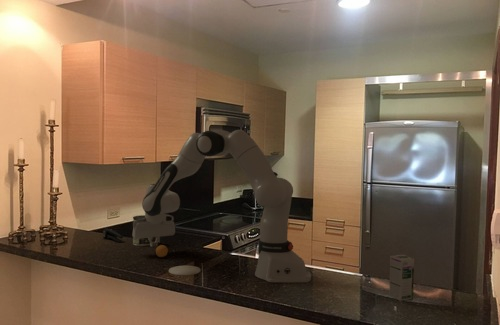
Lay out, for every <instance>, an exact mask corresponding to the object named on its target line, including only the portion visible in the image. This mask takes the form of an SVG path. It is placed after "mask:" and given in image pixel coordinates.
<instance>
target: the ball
mask: <svg viewBox="0 0 500 325" xmlns="http://www.w3.org/2000/svg"><path fill="white" fill-rule="evenodd" d="M168 252H169V250H168V247H167V245H164V244H160V245H157V246H156V248H155V254H156V256H157V257H159V258H164V257H166V256H167V255H168Z"/></svg>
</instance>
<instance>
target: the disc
mask: <svg viewBox="0 0 500 325" xmlns="http://www.w3.org/2000/svg"><path fill="white" fill-rule="evenodd" d="M200 272H201V268H200V267H198V266H195V265H178V266H172V267H170V268H169V269H168V273H169V274H172V275H175V276H194V275H196V274H199V273H200Z"/></svg>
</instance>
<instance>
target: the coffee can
mask: <svg viewBox="0 0 500 325" xmlns="http://www.w3.org/2000/svg"><path fill="white" fill-rule="evenodd" d="M132 218H133V220H132V221H134V220H136V219H141V218H145V214H144V215H143V214H142V215H134V216H133V217H132ZM152 242H154V238H153V239H152ZM132 245H134V246H137V247H144V246H145V247H146V246H150V241H149V240H148V238H141V239H135V238H134V237H133V236H132Z"/></svg>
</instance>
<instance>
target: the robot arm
mask: <svg viewBox="0 0 500 325" xmlns="http://www.w3.org/2000/svg"><path fill="white" fill-rule="evenodd" d="M225 155H231V156H232V157H233V159H234V161H235V162H236V164H237V165H238V166H239V168H240V169H241V171H242V172H243V173H244V175H245V177H246V178H247V180H248V182H249V184H250V186H251V188H252V191H253V193H254V198H255V201H256V203H257V204H258V205H259V206H262V207H263V211H262V215H261V218H260V221H259V224H260V225H259V226H260V227H259V239H258V243H257V244H258V246H257V249H258V250H257V252H258V258H257V259H258V260H257V265H256V269H255V272H254V276H255V277H257V278H259V279H260V280H264V281H266V282H268V283H308V282H310V281H311V280H312V274H311V272H310V271H308V270H307V268H306V263H305V260H304V259H303V258H302V257H300V256H299V255H298V254H297V253H296V252H294V251H293V249H294V245H293V243H292V241H289V240H288V232H289V231H288V228H289V218H290V213H291V212H290V211H291V205H292V198H293V196H294V195H293V194H294V187H293V185H292V183H291V182H290V181H288V180H287V179H286V178H283V177H277V176H276V175H275V173H274V171H273V168H272V166H271V163H270V160H269V159H268V157H267V156H266V155H265V153H264V152H263V150H262V149H261V147H260V146H259V145H258V144H257V143H256V141H255V140H254V139H253V138H252V137H251V136H250V135H249V133H247V132H246V131H245V130H242V129H235V130H233V131H230V130H227V129H224V130H222V129H211V130H206V131H203V132H193V133H192V134H190V135H189V136H188V138H187V139H186V140H185V142H184V144H183V145H182V146H181V149H180V151H179V153H178V154H177V156H176V157H175V158H174V160H172V162H171V163H170V164H169V165H168V166H167V167H166V168H165V169H164V171H163V172H162V173H161V175H160V176H159V178H158V179H157V181H156V182H155V183H153V184H152V183H151V184H148V186H147V188H146V192H145V196H144V197H143V199H142V204H141V206H142V210H143V211H144V215H145V218H141V219H136V220H134V221H133V220H132V221H133V222H132V234H131V235H132V238H133V237H134V238H135V239H141V238H148V240H149V241H150V245H149V246H150V247H151V248H153V247H158V243H159V241H160V240H161V237H169V236H174V235H175V234H176V225H175V221H174V216H173V215H170V214H169V213H174V212H176V211H178V210H179V209H180V207H181V198H180V196H179V194H178V193H177V192H174V191H171V190H170V188H171V187H172V185H173V184H174V183H175V182H177V181H179V180H181V179H184V178H187V177H190V176H193V175H194V174H196V173H197V172H198V171H199V169H200V168H201V167H202V164H203V163H204V160H206V157H209V158H210V157H211V158H212V157H221V156H225ZM154 238H155V241H153V242H152V239H153V240H154Z"/></svg>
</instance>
